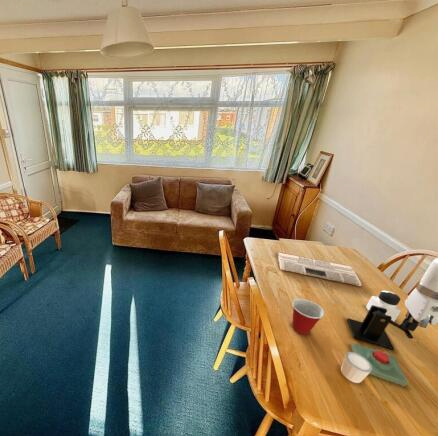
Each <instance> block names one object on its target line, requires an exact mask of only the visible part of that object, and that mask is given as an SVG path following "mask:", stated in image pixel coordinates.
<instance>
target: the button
mask: <svg viewBox="0 0 438 436" xmlns="http://www.w3.org/2000/svg"><path fill="white" fill-rule="evenodd" d="M386 354H387V353H386ZM386 354H385V352H383V351H381V350H378V351H375V353H374V354H373V356H374V358H375V359H376V360H378V361H379V362H381V363H384V364H385V363H387V362H388V361H389V357H388V356H387V355H386Z"/></svg>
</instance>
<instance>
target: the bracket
mask: <svg viewBox="0 0 438 436" xmlns="http://www.w3.org/2000/svg"><path fill="white" fill-rule="evenodd" d="M377 309H378V310H380V311H382V312H384V313H385V314H386V312H387V309H385V308H381V307H377V306H373V305H372V306H371V308H370V310H369V311H368V310H367V311H368V312H367V313H366V315H365V316H364V319H363V320H362V321H359V320H356V319H352V318H348V317H347V318H346V322H347V325H348V328H349V329H350V330H349V331H350V332H351V336H352V338H353V339H355V340H358V341H360V342H364V343H366V344H367V343H368V344H371V345H374V346H377V347H380V348H384V349H386V350H390V351H394V350H395V348H394V345H393V344H392V342H391V340H390V338H389V336H388V334H387V332H386V328H387V327H388V325H390V323H389V322H390V320H391V319H392V317H391V316H388V315H384V314H381V313H377V312H376V313H375V314H373V313H372V312H374V311H375V310H377Z"/></svg>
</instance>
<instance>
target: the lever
mask: <svg viewBox="0 0 438 436" xmlns="http://www.w3.org/2000/svg"><path fill="white" fill-rule="evenodd" d="M376 312H377V313H381V314H384V315H386V314H385V313H384V312H382V311H380V310H378V309H377V310H375V311H374V312H372V313H373V314H375V313H376ZM389 324H392V325H393V326H394V327H396V328H397V329H399V330H400V331H403V332H404V334H405V335H406V337H407V338H408V339H414V336H413V334H412V333H411V331H410V330H406V329H403V328H402V326H401V324H402V323H397V322H396V321H395V322H394V321H392V320H390V322H389Z"/></svg>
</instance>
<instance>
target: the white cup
mask: <svg viewBox="0 0 438 436" xmlns="http://www.w3.org/2000/svg"><path fill="white" fill-rule="evenodd" d="M371 371H372V366H371V364H370V363H369V361H368V360H366V359H365V358H364V357H363V356H361V355H359V354H357V353H354V352H353V351H348V352H346V354H345V355H344V359H343V361H342V364H341V367H340V372H341V374H342V375H343V376H344V377H345V379H347V380H348V381H350V382H352V383H354V384H361V382H362V381H363V380H364V379H365V378H367V377H368V375H370V374H369V373H370V372H371Z"/></svg>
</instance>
